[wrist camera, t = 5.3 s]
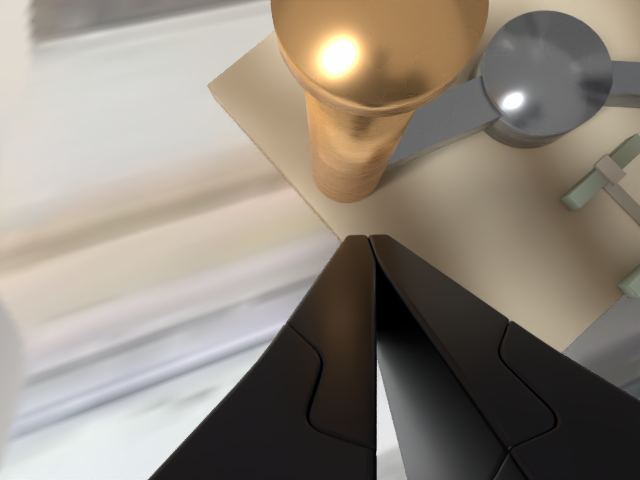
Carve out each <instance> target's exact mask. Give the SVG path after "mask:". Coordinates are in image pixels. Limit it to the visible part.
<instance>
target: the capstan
mask: <svg viewBox="0 0 640 480" xmlns="http://www.w3.org/2000/svg"><path fill="white" fill-rule="evenodd" d="M271 10H272V18H273V23H274V29H275V34H276V39H277V43H278V47H279V51H280V53H281V56H282V58H283V61H284V63H285V65H286V66H287V68H288V70H289V71H290V73H291V75H292V76H293V77H294V78H295V80H296V81H297V82H298V83H299V85H300V86H302V87H303V88H304V89H305V99H306V110H307V120H308V131H309V141H310V152H311V162H312V173H313V178H314V181H315V184H316V185H317V187H318V189H319V190H320V191H321V192H322V193H323V194H324V195H325V196H326V197H328V198H329V199H331V200H334V201H336V202H340V203H353V202H357V201H360V200H362V199H364V198H366V197H367V196H368V195H370V194H371V193H372V192H373V190H374V189H375V188H376V186H377V184H378V182H379V180H380V178H381V176H382V174H383V173H384V172H387V171H389V170H391V169H394V168H396V167H398V166H401V165H403V164H405V163H408V162H410V161H412V160H415V159H417V158H419V157H422V156H424V155H426V154H429V153H431V152H433V151H436V150H438V149H440V148H443V147H445V146H447V145H450V144H452V143H454V142H457V141H459V140H461V139H464V138H466V137H468V136H471V135H473V134H475V133H478V132H480V131H482V130H483V131H484V132H485V133H486V134H487V135H488V136H490V137H491V138H493V139H494V140H496V141H498V142H500V143H502V144H504V145H507V146H510V147H514V148H521V149H532V148H539V147H543V146H546V145H549V144H551V143H553V142H555V141H556V140H558V139H560V138H561V137H563V136H564V135H566V134H568V133H569V132H571V131H572V130H574V129H575V128H577V127H579V126H580V125H582V124H583V123H585V122H586V121H588V120H589V119H591V118H592V117H593V116H594V115H595V114H596V113H597V112H598V111H599V110H600V109H601V108H602V106H608V107H624V108H640V62H630V61H613V60H611V58H610V55H609V52H608V50H607V48H606V46H605V44H604V42H603V41H602V40H601V38H600V37H599V36H598V34H597V33H596V32H595V31H594V30H593V29H592V28H591V27H589V26H588V25H587V24H586V23H584V22H583V21H581V20H579V19H577V18H575V17H573V16H571V15H568V14H566V13H562V12H557V11H550V10H540V11H532V12H528V13H524V14H522V15H519V16H517V17H515V18H513V19H511V20H510V21H508V22H507V23H506V24H504V25H503V26H502V27H501V28H500V29H499V30H498V31H497V33H496V34H495V35H494V37H493V38H492V39H491V41H490V42H489V44H488V45H487V47H486V48H485V50H484V51H483V53H482V54H481V56H480V57H479V59H478V60H477V62H476V63H475V65H474V67H473V68H472V70H471V73H470V75H469V78H468V81H467V82H465V83H463V84H460V85H458V86H456V87H453V88H451V89H449V90H447V89H448V88H449V87H450V86H451V85H452V84H453V83H454V81H455V80H456V79H457V78H458V76H459V75H460V74H461V72H462V70H463V69H464V67H465V66H466V64H467V63H468V61H469V59H470V58H471V56H472V55H473V53H474V51H475V49H476V48H477V46H478V44H479V42H480V40H481V38H482V35H483V33H484V30H485V26H486V22H487V18H488V10H489V0H271Z"/></svg>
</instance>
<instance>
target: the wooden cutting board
mask: <svg viewBox="0 0 640 480" xmlns="http://www.w3.org/2000/svg"><path fill="white" fill-rule="evenodd" d="M540 10H550V11H557V12H562V13H566V14H568V15H571V16H573V17H575V18H577V19H579V20H581V21H583V22H584V23H586V24H587V25H588V26H589V27H591V28H592V29H593V30H594V31H595V32H596V33H597V34H598V36H599V37H600V38H601V40H602V41H603V42H604V44H605V46H606V48H607V50H608V52H609V55H610V58H611V60H613V61H630V62H640V0H489V10H488V18H487V22H486V26H485V30H484V33H483V35H482V38H481V40H480V42H479V44H478V46H477V48H476V49H475V51H474V53H473V55H472V56H471V58H470V59H469V61H468V63H467V64H466V66H465V67H464V69H463V70H462V72H461V74H460V75H459V76H458V78H457V79H456V80H455V81H454V83H453V84H452V85H451V86H450V87H449V88H448V89H447V90H449V89H451V88H453V87H456V86H458V85H460V84H463V83H465V82H467V81H468V78H469V75H470V73H471V70H472V68H473V67H474V65H475V63H476V62H477V60H478V59H479V57H480V56H481V54H482V53H483V51H484V50H485V48H486V47H487V45H488V44H489V42H490V41H491V39H492V38H493V37H494V35H495V34H496V33H497V31H498V30H499V29H500V28H501V27H502V26H503V25H504V24H506V23H507V22H508V21H510V20H511V19H513V18H515V17H517V16H519V15H522V14H524V13H528V12H532V11H540ZM207 87H208V88H209V90H210V92H211V94H212V95H213V97H214V98H215V99H216V101H217V102H218V103H219V104H220V105H221V106H222V107H223V108H224V110H225V111H226V112H227V113H228V114H229V115H230V116H231V118H232V119H233V120H234V121H235V122H236V123H237V124H238V125H239V127H240V128H241V129H242V130H243V131H244V132H245V133H246V135H247V136H248V137H249V138H250V139H251V140H252V141H253V142H254V144H255V145H256V146H257V147H258V148H259V149H260V150H261V151H262V153H263V154H264V155H265V156H266V157H267V158H268V159H269V161H270V162H271V163H272V164H273V165H274V166H275V167H276V168H277V170H278V171H279V172H280V173H281V174H282V175H283V176H284V178H285V179H286V180H287V181H288V182H289V183H290V184H291V185H292V187H293V188H294V189H295V190H296V191H297V192H298V193H299V194H300V196H301V197H302V198H303V199H304V200H305V201H306V202H307V204H308V205H309V206H310V207H311V208H312V209H313V210H314V211H315V213H316V214H317V215H318V216H319V217H320V218H321V219H322V221H323V222H324V223H325V224H326V225H327V226H328V227H329V228H330V230H331V231H332V232H333V233H334V234H335V235H336V236H337V237H338V239H339V240H340V241H341V242H343V241H344V239H345V238H346V236H348V235H366V236H367V237H368V236H369V235H376V234H387V235H389V236H391V237H392V238H394V239H395V240H396V241H398V242H399V243H401V244H402V245H404V246H405V247H407V248H408V249H409V250H411V251H412V252H414V253H415V254H417V255H418V256H419V257H421V258H422V259H424V260H425V261H427V262H428V263H430V264H431V265H432V266H434V267H435V268H437V269H438V270H440V271H441V272H442V273H444V274H445V275H447V276H448V277H450V278H451V279H453V280H454V281H455V282H457V283H458V284H460V285H461V286H463V287H464V288H465V289H467V290H468V291H470V292H471V293H473V294H474V295H476V296H477V297H478V298H480V299H481V300H483V301H484V302H486V303H487V304H488V305H490V306H491V307H493V308H494V309H496V310H497V311H499V312H500V313H501V314H503V315H504V316H506V317H507V318H508V319H509V322H510V321H514V322H516V323H517V324H519V325H520V326H521V327H523V328H524V329H526V330H527V331H529V332H530V333H532V334H533V335H535V336H536V337H538V338H539V339H541V340H542V341H544V342H545V343H547V344H548V345H550V346H551V347H553V348H554V349H556V350H557V351H559V352H560V353H562V352H563V351H564V350H565V349H566V348H567V347H568V346H569V345H570V344H571V343H572V342H574V341H575V340H576V339H577V338H578V337H579V336H580V335H581V334H582V333H583V332H584V331H585V330H586V329H587V328H588V327H589V326H590V325H592V324H593V323H594V322H595V321H596V320H597V319H598V318H599V317H600V316H601V315H602V314H603V313H604V312H605V311H606V310H607V309H609V308H610V307H611V306H612V305H613V304H614V303H615V302H616V301H617V300H618V299H619V298H620V297H621V296H622V295H623V294H625V295H626V296H627V297H628V298H640V108H624V107H608V106H602V108H601V109H600V110H599V111H598V112H597V113H596V114H595V115H594V116H593V117H592V118H591V119H589V120H588V121H586V122H585V123H583V124H582V125H580V126H579V127H577V128H575V129H574V130H572V131H571V132H569V133H568V134H566V135H564V136H563V137H561V138H560V139H558V140H556V141H555V142H553V143H551V144H549V145H546V146H543V147H539V148H532V149H521V148H514V147H510V146H507V145H504V144H502V143H500V142H498V141H496V140H494V139H493V138H491V137H490V136H488V135H487V134H486V133H485V132H484V131H483V130H482V131H480V132H478V133H475V134H473V135H471V136H468V137H466V138H464V139H461V140H459V141H457V142H454V143H452V144H450V145H447V146H445V147H443V148H440V149H438V150H436V151H433V152H431V153H429V154H426V155H424V156H422V157H419V158H417V159H415V160H412V161H410V162H408V163H405V164H403V165H401V166H398V167H396V168H394V169H391V170H389V171H387V172H384V173H383V174H382V176H381V178H380V180H379V182H378V184H377V186H376V188H375V189H374V190H373V192H372V193H371V194H370V195H368V196H367V197H366V198H364V199H362V200H360V201H357V202H353V203H340V202H336V201H334V200H331V199H329V198H328V197H326V196H325V195H324V194H323V193H322V192H321V191H320V190H319V189H318V187H317V185H316V184H315V181H314V178H313V173H312V162H311V152H310V141H309V131H308V120H307V110H306V99H305V89H304V88H303V87H302V86H300V85H299V83H298V82H297V81H296V80H295V78H294V77H293V76H292V75H291V73H290V71H289V70H288V68H287V66H286V65H285V63H284V61H283V58H282V56H281V53H280V51H279V47H278V43H277V39H276V34H275V31H274V32H272V33H271V34H270V35H269V36H267V37H266V38H265V39H264V40H262V41H261V42H260V43H259V44H257V45H256V46H255V47H254V48H253V49H251V50H250V51H249V52H248V53H246V54H245V55H244V56H243V57H241V58H240V59H239V60H238V61H236V62H235V63H234V64H233V65H232V66H230V67H229V68H228V69H227V70H225V71H224V72H223V73H222V74H220V75H219V76H218V77H217V78H216V79H214V80H213V81H212V82H211V83H209V84H208V85H207Z"/></svg>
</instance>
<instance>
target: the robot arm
mask: <svg viewBox="0 0 640 480" xmlns="http://www.w3.org/2000/svg"><path fill="white" fill-rule="evenodd" d="M377 359H378V363H379V367H380V371H381V375H382V380H383V384H384V388H385V392H386V396H387V400H388V404H389V408H390V412H391V416H392V420H393V424H394V428H395V432H396V436H397V440H398V444H399V448H400V452H401V456H402V460H403V464H404V468H405V472H406V476H407V480H640V400H638V399H637V398H635V397H633V396H631V395H630V394H628V393H626V392H625V391H623V390H621V389H620V388H618V387H616V386H614V385H613V384H611V383H609V382H608V381H606V380H604V379H603V378H601V377H599V376H598V375H596V374H594V373H593V372H591V371H590V370H588V369H586V368H585V367H583V366H581V365H580V364H578V363H576V362H575V361H573V360H572V359H570V358H568V357H567V356H565V355H563V354H562V353H560V352H559V351H557V350H556V349H554V348H553V347H551V346H550V345H548V344H547V343H545V342H544V341H542V340H541V339H539V338H538V337H536V336H535V335H533V334H532V333H530V332H529V331H527V330H526V329H524V328H523V327H521V326H520V325H519V324H517V323H516V322H514V321H510V322H509V319H508V318H507V317H506V316H504V315H503V314H501V313H500V312H499V311H497V310H496V309H494V308H493V307H491V306H490V305H488V304H487V303H486V302H484V301H483V300H481V299H480V298H478V297H477V296H476V295H474V294H473V293H471V292H470V291H468V290H467V289H465V288H464V287H463V286H461V285H460V284H458V283H457V282H455V281H454V280H453V279H451V278H450V277H448V276H447V275H445V274H444V273H442V272H441V271H440V270H438V269H437V268H435V267H434V266H432V265H431V264H430V263H428V262H427V261H425V260H424V259H422V258H421V257H419V256H418V255H417V254H415V253H414V252H412V251H411V250H409V249H408V248H407V247H405V246H404V245H402V244H401V243H399V242H398V241H396V240H395V239H394V238H392V237H391V236H389V235H387V234H376V235H369V236H368V237H367V236H366V235H348V236H346V238H345V239H344V241H343V242H342V243H341V245H340V246H339V248H338V249H337V251H336V252H335V253H334V255H333V256H332V258H331V259H330V261H329V262H328V263H327V265H326V266H325V268H324V269H323V271H322V272H321V274H320V275H319V276H318V278H317V279H316V281H315V282H314V284H313V285H312V286H311V288H310V289H309V291H308V292H307V294H306V295H305V296H304V298H303V299H302V301H301V302H300V304H299V305H298V306H297V308H296V309H295V311H294V312H293V314H292V315H291V316H290V318H289V319H288V321H287V322H286V325H284V326H283V327H282V328H281V330H280V331H279V333H278V334H277V335H276V337H275V338H274V340H273V341H272V342H271V344H270V345H269V346H268V348H267V349H266V350H265V352H264V353H263V354H262V355H261V357H260V358H259V359H258V361H257V362H256V363H255V364H254V365H253V366H252V367H251V369H250V370H249V371H248V372H247V373H246V374H245V375H244V377H243V378H242V379H241V380H240V381H239V382H238V383H237V384H236V386H235V387H234V388H233V389H232V390H231V391H230V392H229V393H228V394H227V395H226V396H225V397H224V398H223V400H222V401H221V402H220V403H219V404H218V405H217V406H216V407H215V408H214V409H213V410H212V411H211V412H210V413H209V415H208V416H207V417H206V418H205V419H204V420H203V421H202V422H201V423H200V424H199V425H198V426H197V427H196V428H195V430H194V431H193V432H192V433H191V434H190V435H189V436H188V437H187V438H186V439H185V440H184V441H183V442H182V444H181V445H180V446H179V447H178V448H177V449H176V450H175V451H174V452H173V453H172V454H171V455H170V456H169V457H168V459H167V460H166V461H165V462H164V463H163V464H162V465H161V466H160V467H159V468H158V469H157V470H156V471H155V472H154V474H153V475H152V476H151V477H150V478H149V479H148V480H377V456H376V452H377Z"/></svg>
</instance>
